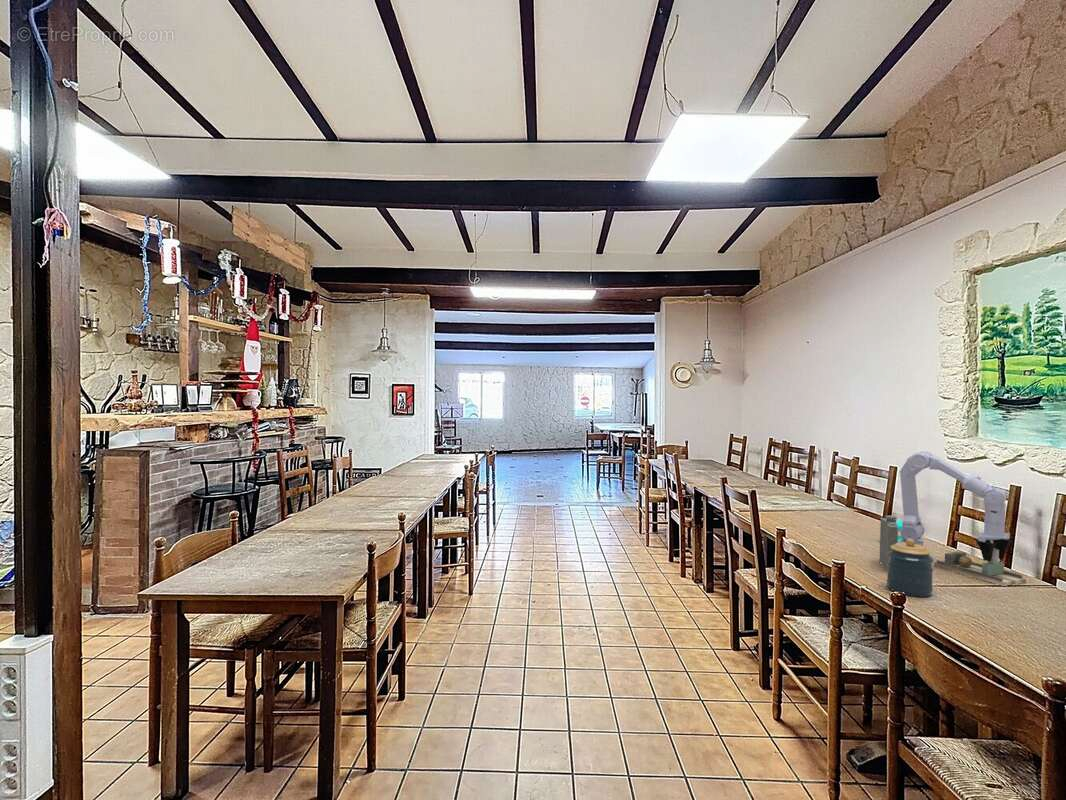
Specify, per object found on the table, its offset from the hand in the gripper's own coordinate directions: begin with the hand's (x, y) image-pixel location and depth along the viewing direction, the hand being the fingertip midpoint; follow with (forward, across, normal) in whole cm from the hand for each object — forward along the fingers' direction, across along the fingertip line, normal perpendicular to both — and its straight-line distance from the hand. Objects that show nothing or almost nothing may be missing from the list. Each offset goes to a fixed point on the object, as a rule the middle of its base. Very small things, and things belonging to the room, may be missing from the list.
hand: (993, 559), depth 205 cm
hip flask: (+7, -25, +21) cm, 33 cm away
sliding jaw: (+5, 0, 0) cm, 5 cm away
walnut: (+3, 0, +9) cm, 10 cm away
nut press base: (+7, 0, +5) cm, 9 cm away
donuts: (+7, +10, +45) cm, 47 cm away
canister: (+7, -42, +1) cm, 43 cm away
